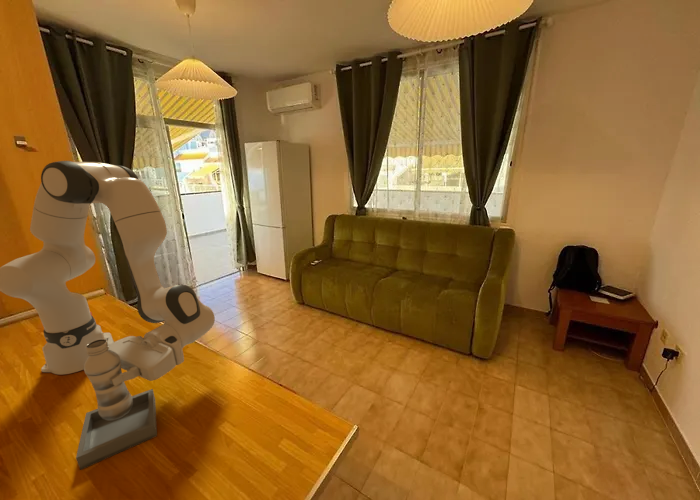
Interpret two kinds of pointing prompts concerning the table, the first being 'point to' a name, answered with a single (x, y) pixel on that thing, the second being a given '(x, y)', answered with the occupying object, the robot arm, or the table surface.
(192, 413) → the table surface
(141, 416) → the box
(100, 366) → the plastic bottle
